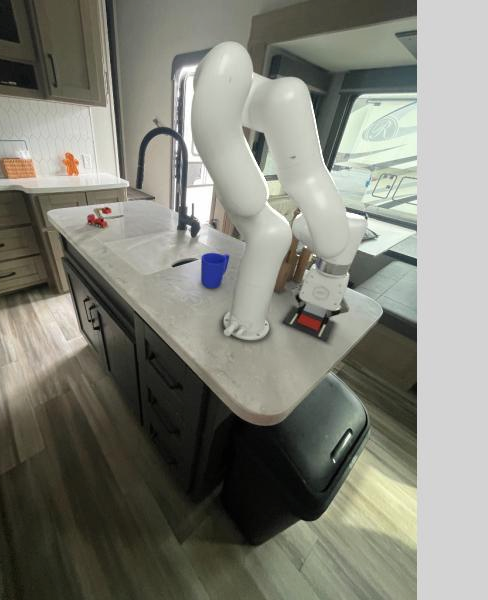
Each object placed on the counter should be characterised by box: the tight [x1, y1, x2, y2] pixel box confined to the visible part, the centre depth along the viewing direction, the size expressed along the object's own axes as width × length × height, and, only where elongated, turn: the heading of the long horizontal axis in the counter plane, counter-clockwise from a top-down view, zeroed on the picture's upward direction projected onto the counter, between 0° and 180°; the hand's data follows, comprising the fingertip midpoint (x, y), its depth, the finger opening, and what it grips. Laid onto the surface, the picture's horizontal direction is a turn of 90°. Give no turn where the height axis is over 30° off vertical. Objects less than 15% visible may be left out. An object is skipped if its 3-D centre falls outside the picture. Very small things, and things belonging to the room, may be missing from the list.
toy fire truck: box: [86, 206, 112, 228], centre depth 128 cm, size 3×14×10 cm, turn 64°
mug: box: [200, 252, 230, 289], centre depth 90 cm, size 8×12×10 cm
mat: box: [282, 306, 335, 342], centre depth 78 cm, size 10×12×1 cm
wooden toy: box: [273, 210, 313, 293], centre depth 89 cm, size 15×7×25 cm, turn 129°
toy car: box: [298, 302, 326, 331], centre depth 76 cm, size 8×4×6 cm
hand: (310, 320), depth 77 cm, fingers closed on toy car, 5 cm apart
